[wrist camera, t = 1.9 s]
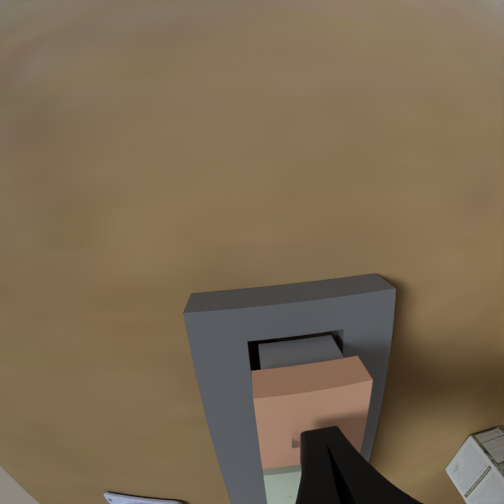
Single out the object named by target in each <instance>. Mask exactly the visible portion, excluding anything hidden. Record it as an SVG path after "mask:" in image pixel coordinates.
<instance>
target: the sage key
mask: <svg viewBox="0 0 504 504" xmlns="http://www.w3.org/2000/svg"><path fill="white" fill-rule="evenodd" d="M263 477H264V484H265V491H266V498H267V504H295V502H296V499H297V494H298V489H299V484H300V479H301V464H299V465H292V466H284V467H276V468H266V469H263Z"/></svg>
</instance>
